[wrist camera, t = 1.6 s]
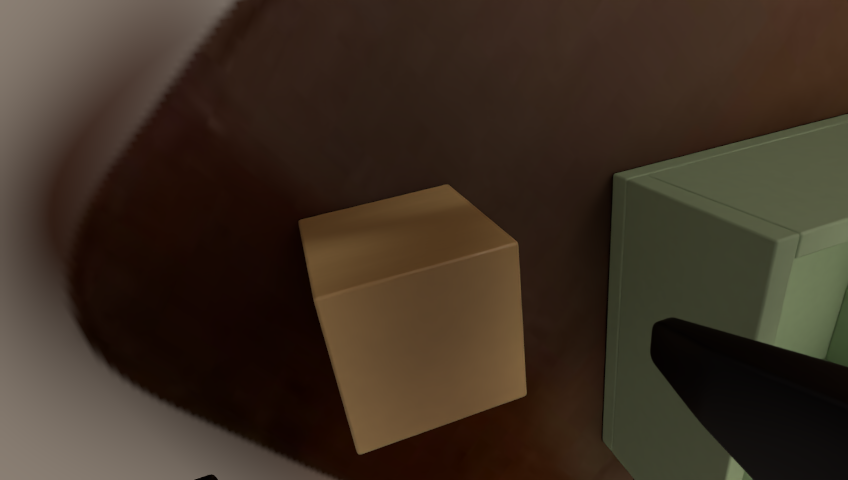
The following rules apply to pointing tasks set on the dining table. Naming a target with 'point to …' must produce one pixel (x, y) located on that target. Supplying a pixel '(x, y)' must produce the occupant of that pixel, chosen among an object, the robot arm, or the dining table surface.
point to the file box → (722, 278)
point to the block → (416, 312)
